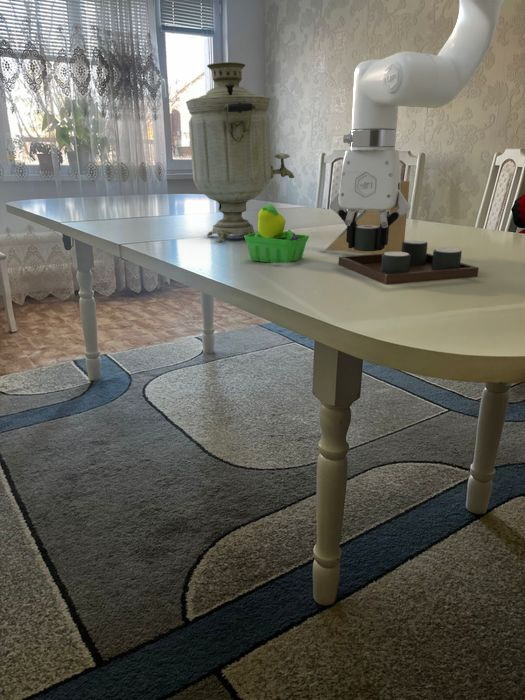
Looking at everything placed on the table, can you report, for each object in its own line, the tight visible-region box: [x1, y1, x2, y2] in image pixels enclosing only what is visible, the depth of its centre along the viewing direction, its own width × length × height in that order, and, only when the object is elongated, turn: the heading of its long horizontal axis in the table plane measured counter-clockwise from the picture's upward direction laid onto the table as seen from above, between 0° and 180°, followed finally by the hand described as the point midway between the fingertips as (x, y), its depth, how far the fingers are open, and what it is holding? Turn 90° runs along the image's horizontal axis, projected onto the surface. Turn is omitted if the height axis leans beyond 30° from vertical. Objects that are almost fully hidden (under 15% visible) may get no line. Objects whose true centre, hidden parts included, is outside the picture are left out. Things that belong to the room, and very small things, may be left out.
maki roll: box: [354, 225, 380, 251], centre depth 99 cm, size 5×5×4 cm
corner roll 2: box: [401, 239, 428, 266], centre depth 102 cm, size 5×5×4 cm
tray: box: [338, 252, 480, 286], centre depth 97 cm, size 18×18×2 cm
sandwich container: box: [325, 180, 410, 255], centre depth 117 cm, size 9×15×15 cm, turn 49°
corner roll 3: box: [432, 247, 463, 270], centre depth 93 cm, size 5×5×4 cm
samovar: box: [185, 61, 295, 243], centre depth 133 cm, size 30×26×40 cm
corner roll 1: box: [381, 251, 411, 274], centre depth 91 cm, size 5×5×4 cm
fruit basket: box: [243, 204, 310, 264], centre depth 107 cm, size 11×9×11 cm
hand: (366, 247), depth 99 cm, fingers closed on maki roll, 4 cm apart
